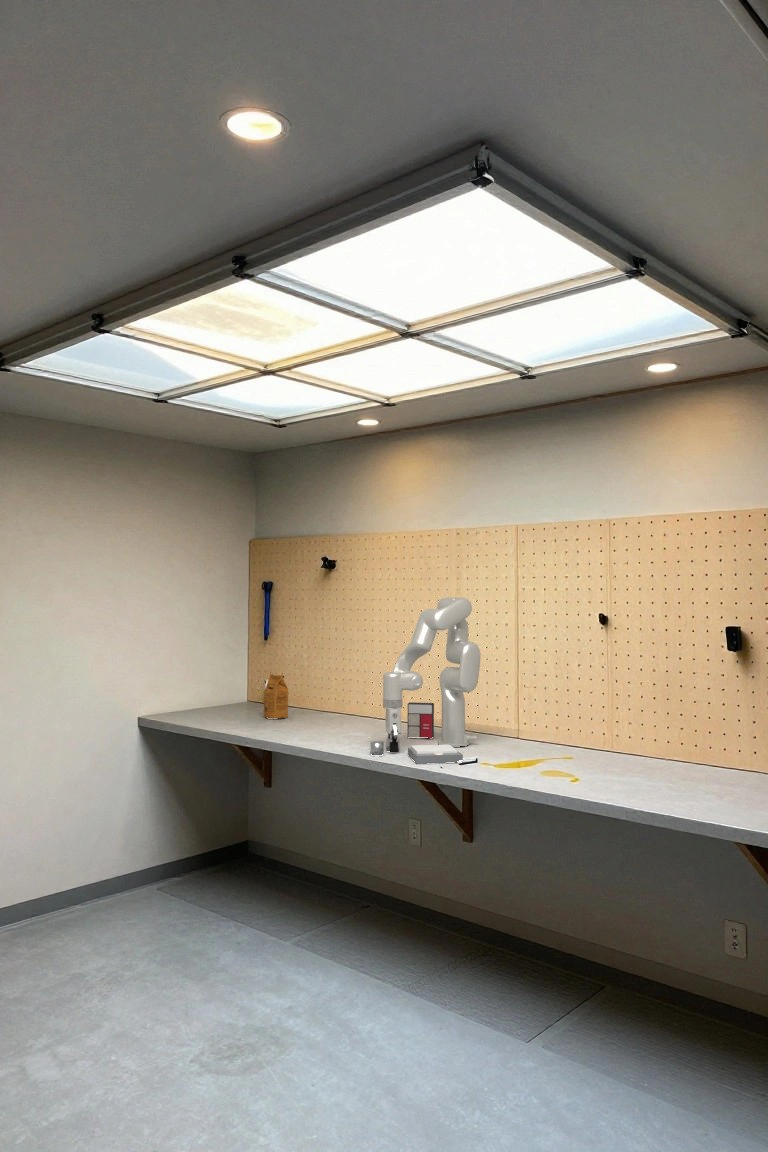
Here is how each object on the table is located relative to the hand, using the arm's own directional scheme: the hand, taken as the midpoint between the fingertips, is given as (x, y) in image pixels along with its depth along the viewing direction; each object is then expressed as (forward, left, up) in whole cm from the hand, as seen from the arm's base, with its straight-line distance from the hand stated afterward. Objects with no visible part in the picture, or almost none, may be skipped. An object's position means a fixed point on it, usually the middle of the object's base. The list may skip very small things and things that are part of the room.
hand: (392, 750), depth 319 cm
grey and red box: (-17, -30, -1) cm, 34 cm away
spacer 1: (+7, +6, -1) cm, 9 cm away
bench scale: (-13, +17, 0) cm, 21 cm away
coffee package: (+43, -101, -1) cm, 110 cm away
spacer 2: (0, 0, -1) cm, 1 cm away
